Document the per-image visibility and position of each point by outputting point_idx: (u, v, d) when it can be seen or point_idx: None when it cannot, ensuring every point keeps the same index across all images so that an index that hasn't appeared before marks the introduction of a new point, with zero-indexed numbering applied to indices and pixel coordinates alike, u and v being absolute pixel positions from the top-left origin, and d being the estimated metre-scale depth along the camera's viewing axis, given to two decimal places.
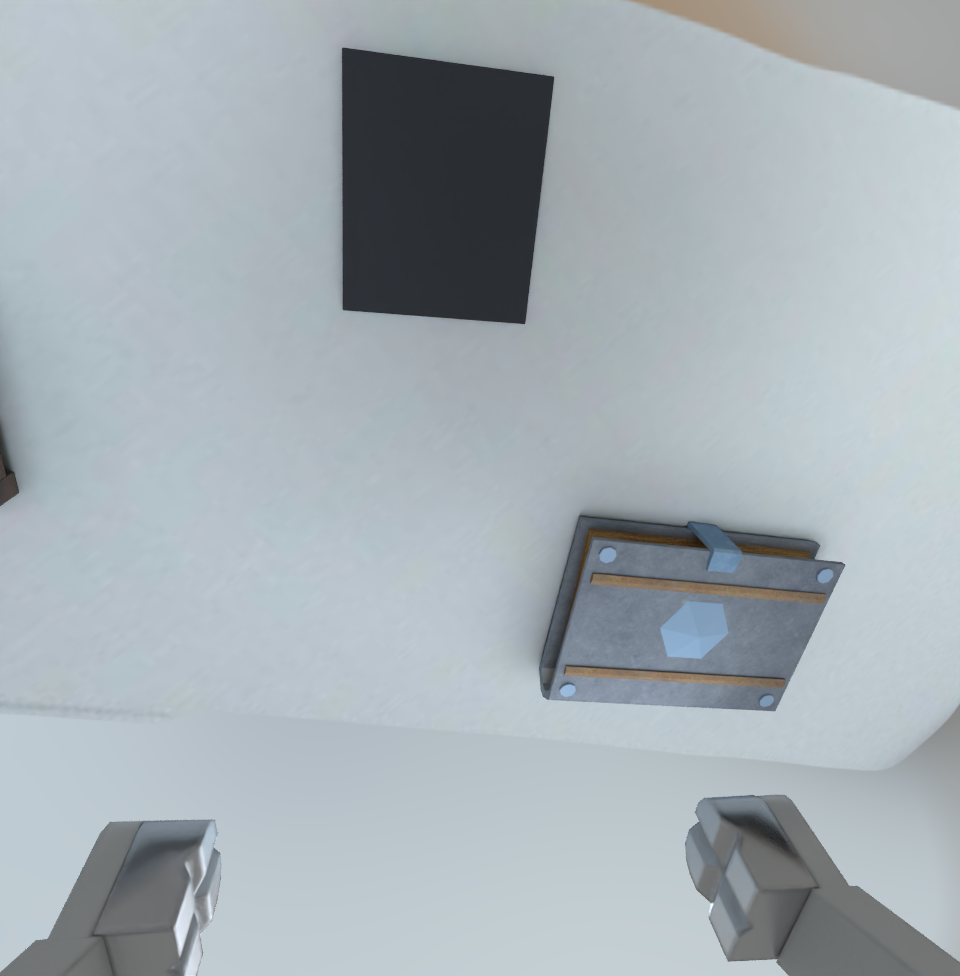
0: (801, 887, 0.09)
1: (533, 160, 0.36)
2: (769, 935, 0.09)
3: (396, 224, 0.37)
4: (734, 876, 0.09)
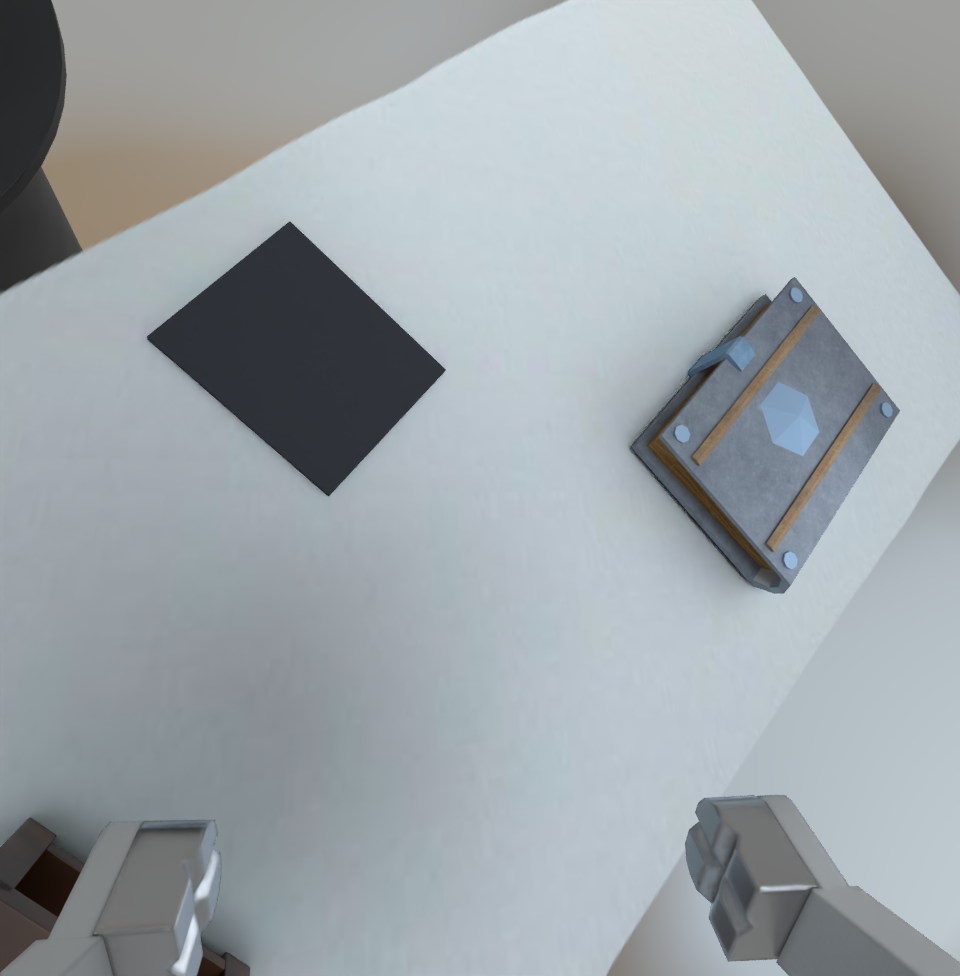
0: (801, 887, 0.09)
1: (333, 274, 0.40)
2: (769, 935, 0.09)
3: (298, 401, 0.38)
4: (733, 876, 0.09)
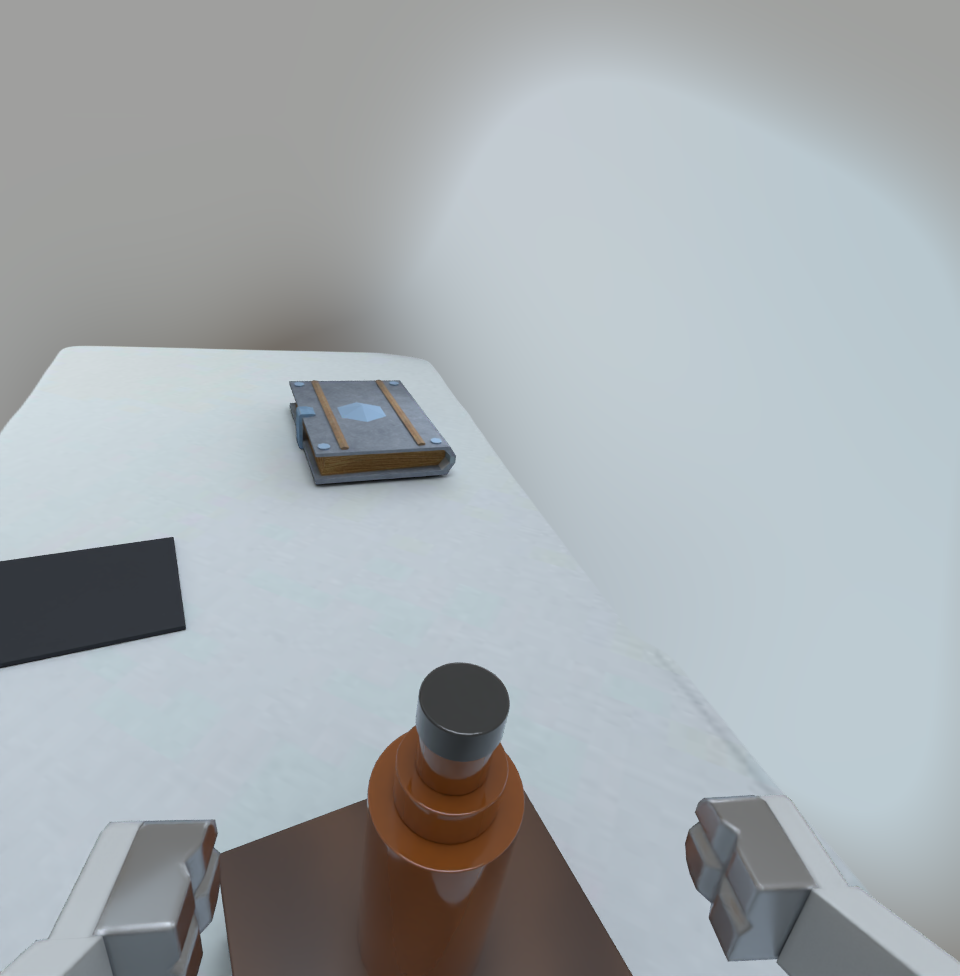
0: (801, 887, 0.09)
1: (42, 559, 0.49)
2: (769, 935, 0.09)
3: (102, 612, 0.45)
4: (734, 876, 0.09)
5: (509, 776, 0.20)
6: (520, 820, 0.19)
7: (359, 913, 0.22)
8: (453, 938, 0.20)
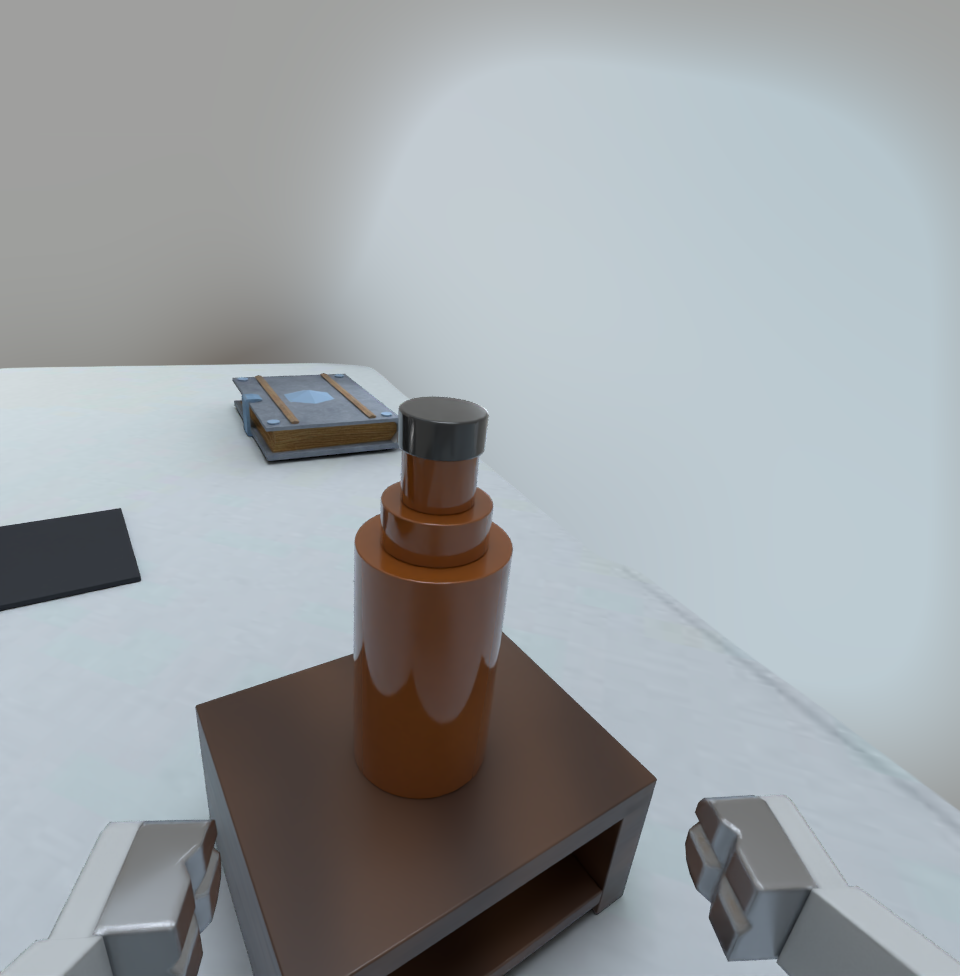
0: (801, 887, 0.09)
1: None
2: (769, 935, 0.09)
3: (48, 571, 0.42)
4: (734, 876, 0.09)
5: (494, 531, 0.21)
6: (510, 554, 0.19)
7: (354, 714, 0.21)
8: (455, 690, 0.19)
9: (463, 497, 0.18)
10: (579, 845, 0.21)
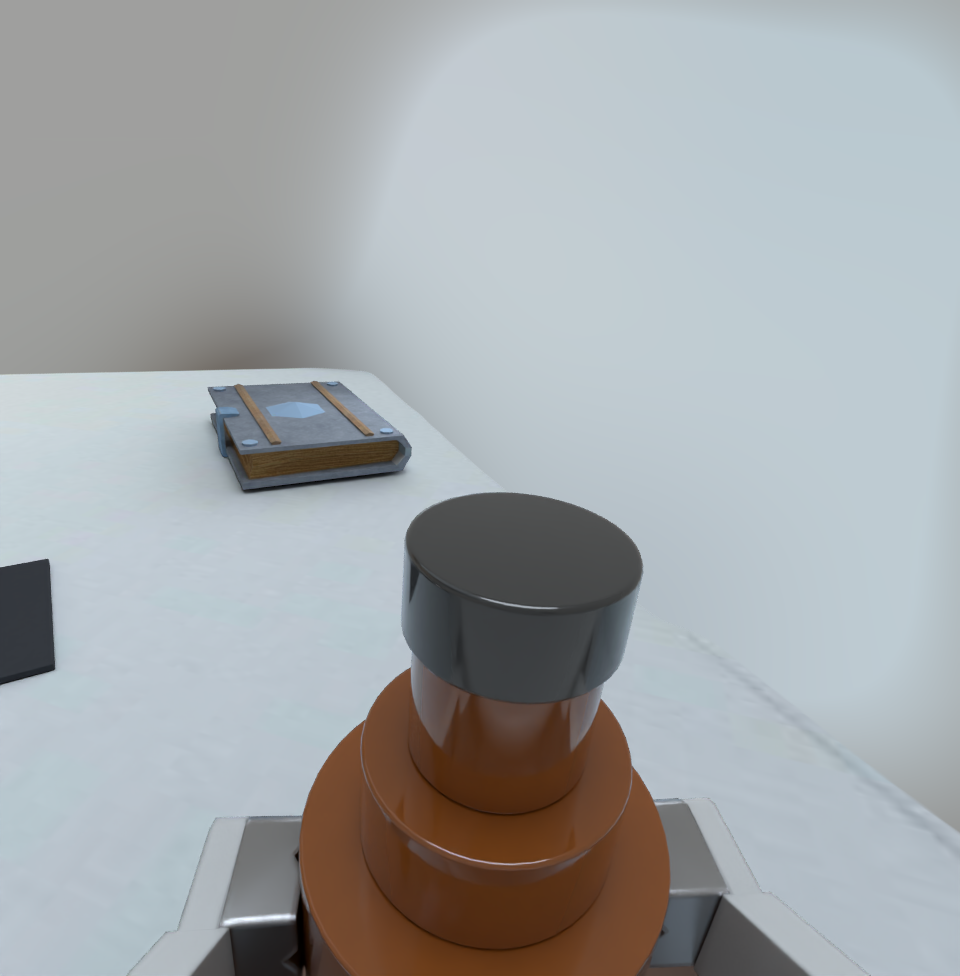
0: (712, 893, 0.09)
1: None
2: (683, 942, 0.09)
3: None
4: None
5: None
6: (667, 860, 0.08)
7: None
8: None
9: (571, 762, 0.07)
10: None
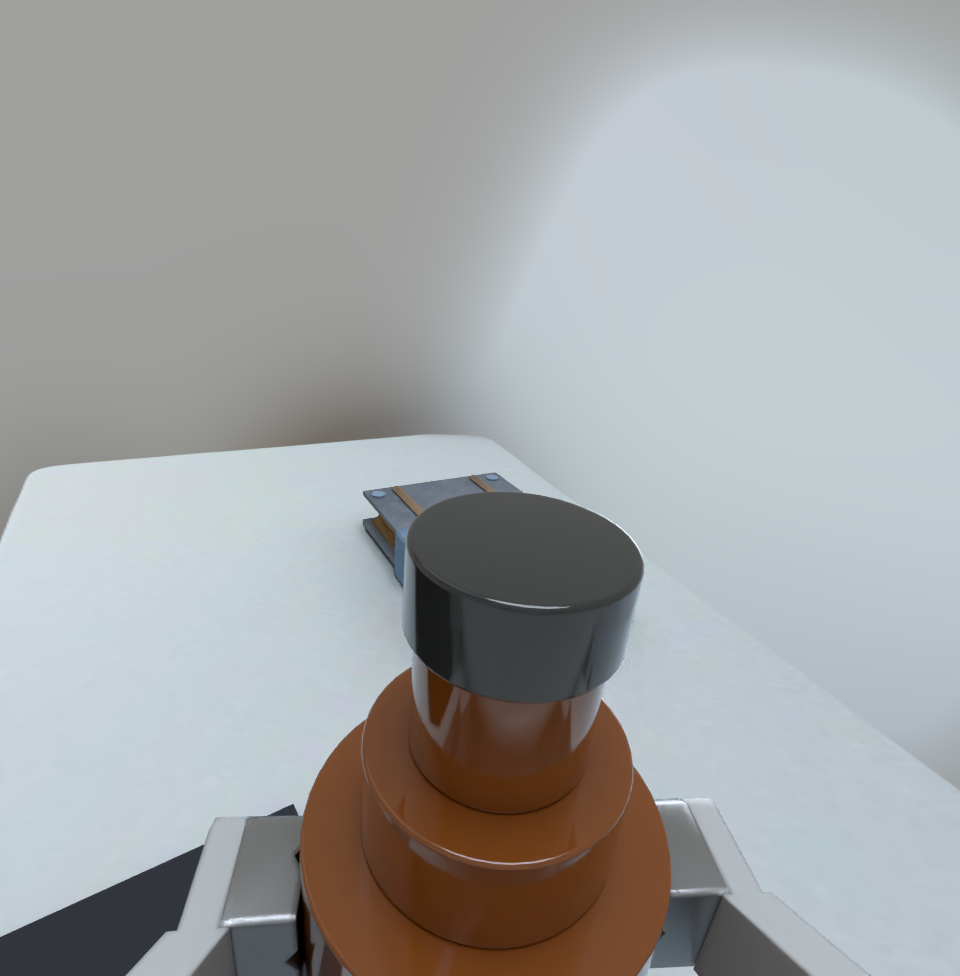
0: (712, 893, 0.09)
1: (76, 916, 0.26)
2: (683, 942, 0.09)
3: None
4: None
5: None
6: (667, 859, 0.08)
7: None
8: None
9: (572, 762, 0.07)
10: None
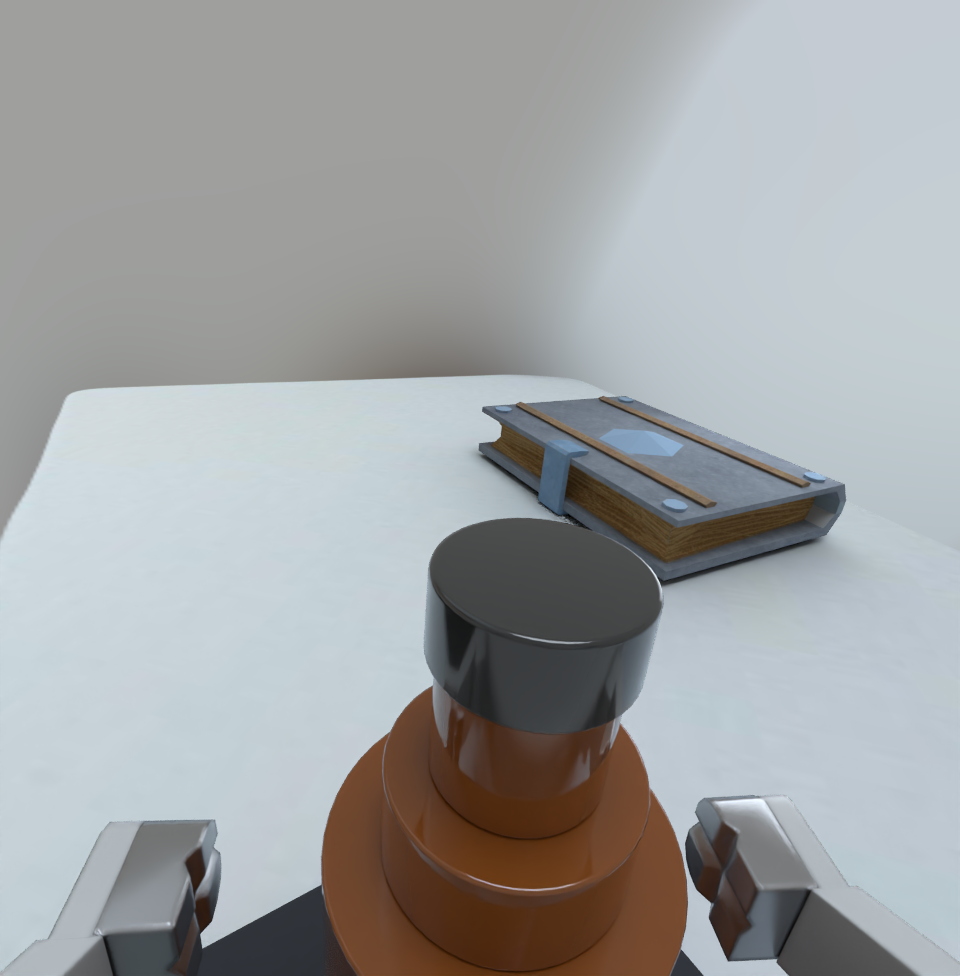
0: (801, 887, 0.09)
1: (246, 952, 0.15)
2: (769, 935, 0.09)
3: None
4: (734, 876, 0.09)
5: None
6: (683, 880, 0.08)
7: None
8: None
9: (591, 788, 0.07)
10: None
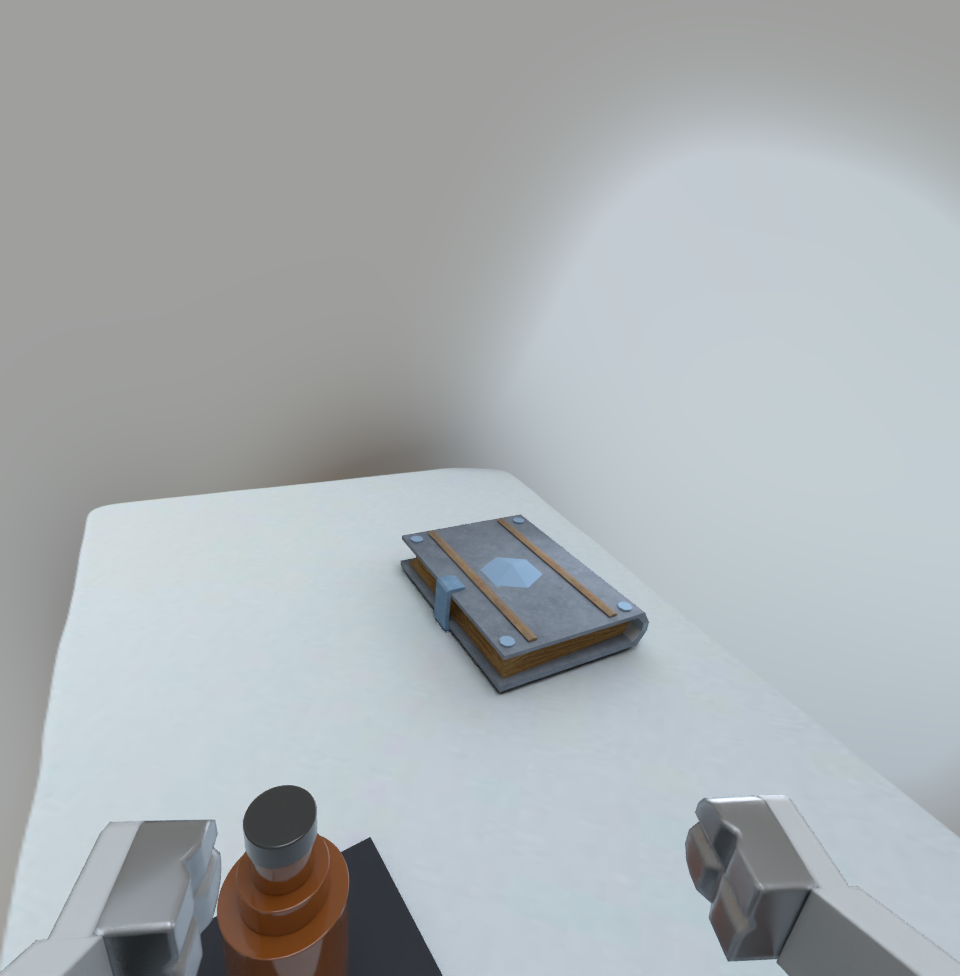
0: (801, 887, 0.09)
1: (203, 935, 0.31)
2: (769, 935, 0.09)
3: None
4: (733, 876, 0.09)
5: (338, 870, 0.26)
6: (342, 906, 0.24)
7: None
8: None
9: (297, 879, 0.23)
10: None
